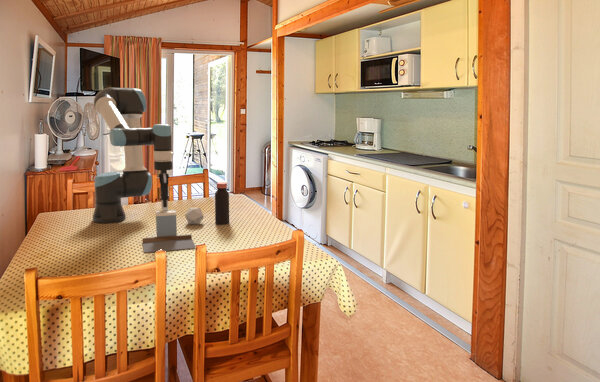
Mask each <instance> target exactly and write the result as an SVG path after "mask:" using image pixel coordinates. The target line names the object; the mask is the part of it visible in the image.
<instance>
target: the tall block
mask: <svg viewBox="0 0 600 382" xmlns="http://www.w3.org/2000/svg"><path fill="white" fill-rule="evenodd" d="M155 228H156V229H155V230H156V237H162V236H176V235H177V234H178V232H177V231H178V228H177V211H176V209H168V210H163V211H162V210H155Z"/></svg>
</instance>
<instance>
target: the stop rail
mask: <svg viewBox="0 0 600 382" xmlns="http://www.w3.org/2000/svg"><path fill="white" fill-rule="evenodd" d="M192 237H193V236H192V234H191V233H190V234H180V235H176V236H162V237H157V236H152V237H151V236H150V237H142V243H143V242H154V241H167V240H180V239H192ZM192 240H193V239H192Z"/></svg>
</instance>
